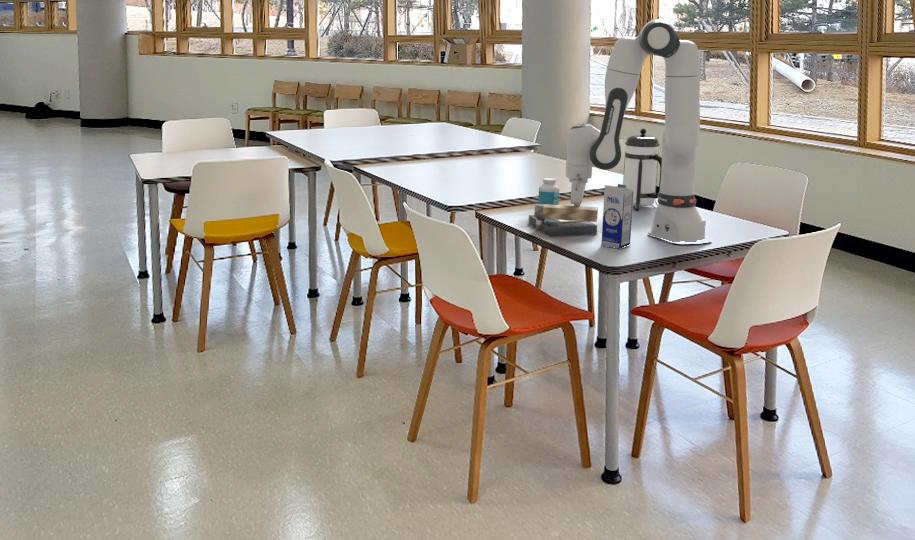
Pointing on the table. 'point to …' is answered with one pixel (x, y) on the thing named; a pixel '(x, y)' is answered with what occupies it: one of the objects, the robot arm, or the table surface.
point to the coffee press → (642, 168)
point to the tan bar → (566, 212)
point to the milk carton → (617, 216)
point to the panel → (562, 227)
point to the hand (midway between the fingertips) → (576, 212)
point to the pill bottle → (549, 192)
